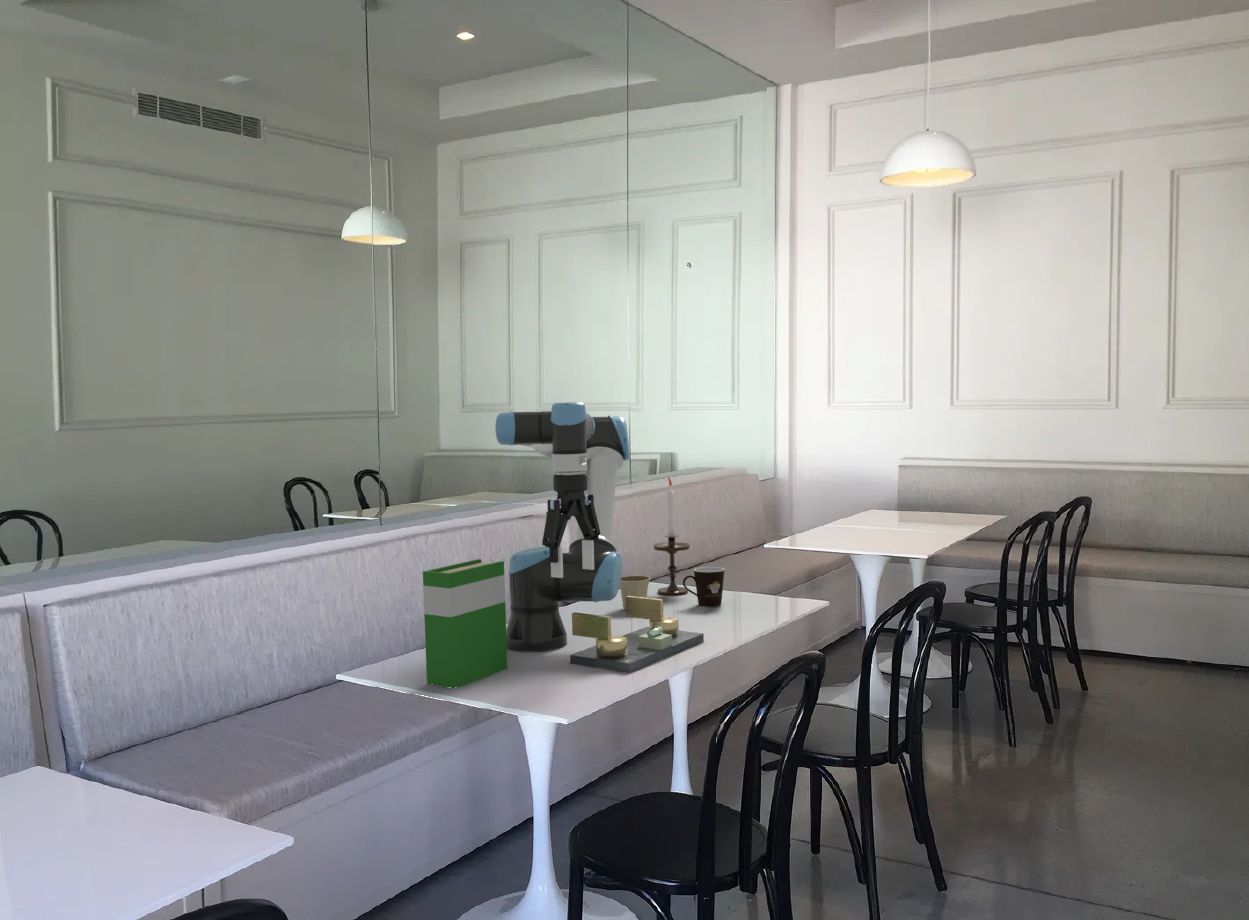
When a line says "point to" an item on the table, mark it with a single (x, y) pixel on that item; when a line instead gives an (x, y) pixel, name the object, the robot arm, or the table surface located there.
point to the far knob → (651, 613)
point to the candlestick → (671, 549)
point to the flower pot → (633, 587)
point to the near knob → (599, 634)
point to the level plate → (640, 650)
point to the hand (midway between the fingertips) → (573, 573)
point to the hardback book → (464, 622)
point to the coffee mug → (708, 585)
